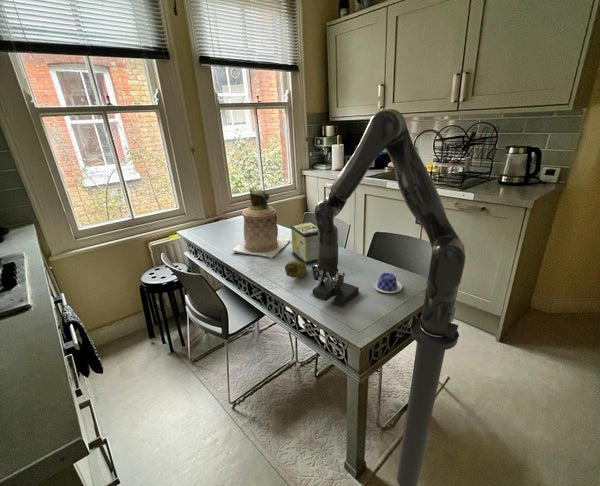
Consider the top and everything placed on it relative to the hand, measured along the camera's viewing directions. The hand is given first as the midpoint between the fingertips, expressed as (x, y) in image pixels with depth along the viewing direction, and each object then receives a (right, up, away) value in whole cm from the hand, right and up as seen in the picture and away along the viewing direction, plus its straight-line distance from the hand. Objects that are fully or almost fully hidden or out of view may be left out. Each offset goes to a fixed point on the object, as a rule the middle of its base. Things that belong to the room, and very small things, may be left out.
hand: (327, 292), depth 122 cm
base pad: (+4, -1, +5) cm, 6 cm away
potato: (-12, +5, +20) cm, 24 cm away
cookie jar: (-31, +19, +51) cm, 63 cm away
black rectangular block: (0, 0, 0) cm, 0 cm away
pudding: (+25, +1, +9) cm, 27 cm away
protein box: (-7, +14, +38) cm, 41 cm away
